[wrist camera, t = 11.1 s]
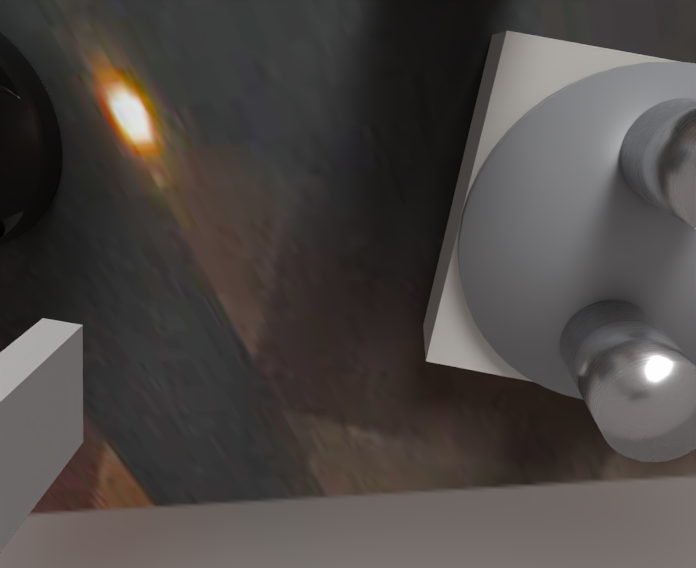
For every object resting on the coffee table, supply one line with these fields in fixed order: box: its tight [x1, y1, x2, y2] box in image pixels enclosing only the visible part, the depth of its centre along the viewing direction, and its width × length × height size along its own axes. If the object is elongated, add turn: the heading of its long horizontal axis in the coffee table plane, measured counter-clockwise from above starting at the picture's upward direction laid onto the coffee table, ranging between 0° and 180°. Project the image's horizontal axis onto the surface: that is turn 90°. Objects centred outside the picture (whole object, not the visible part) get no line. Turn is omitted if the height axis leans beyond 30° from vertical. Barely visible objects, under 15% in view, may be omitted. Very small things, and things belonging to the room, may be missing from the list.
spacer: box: [560, 300, 696, 462], centre depth 29 cm, size 5×5×7 cm
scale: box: [423, 31, 696, 400], centre depth 33 cm, size 20×18×6 cm
